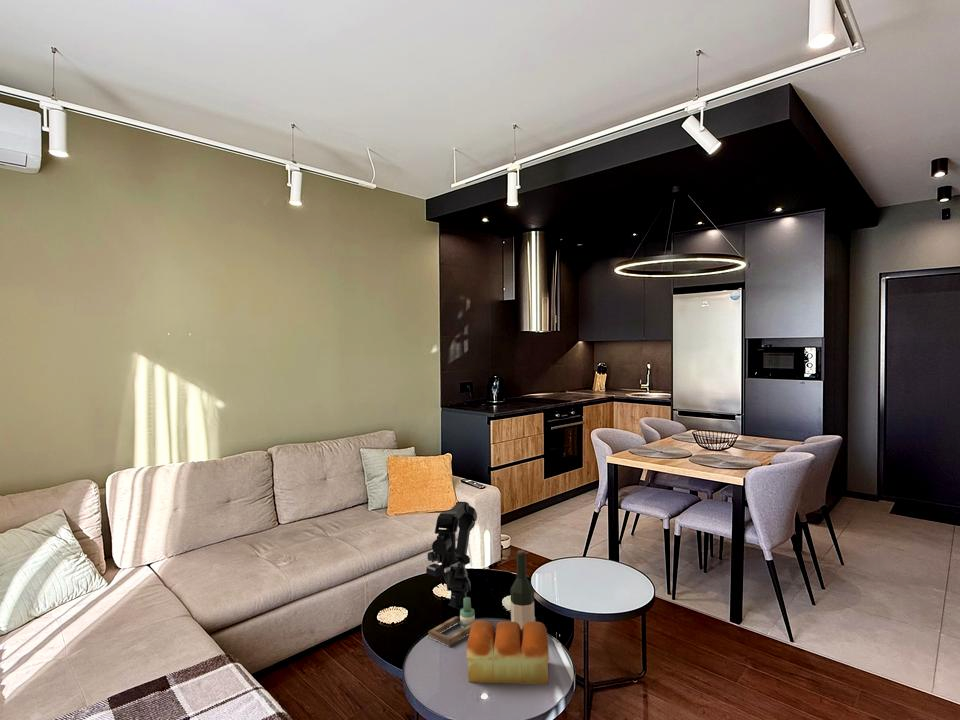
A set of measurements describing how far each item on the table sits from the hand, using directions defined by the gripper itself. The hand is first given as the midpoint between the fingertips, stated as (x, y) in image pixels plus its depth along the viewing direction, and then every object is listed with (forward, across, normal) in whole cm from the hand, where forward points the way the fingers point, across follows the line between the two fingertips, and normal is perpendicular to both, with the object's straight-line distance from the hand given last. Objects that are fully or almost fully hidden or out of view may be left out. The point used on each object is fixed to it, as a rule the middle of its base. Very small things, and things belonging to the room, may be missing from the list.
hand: (449, 586), depth 202 cm
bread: (+12, +14, +40) cm, 44 cm away
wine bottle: (+12, -7, +30) cm, 33 cm away
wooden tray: (+12, +7, +10) cm, 17 cm away
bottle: (+12, 0, +9) cm, 15 cm away
